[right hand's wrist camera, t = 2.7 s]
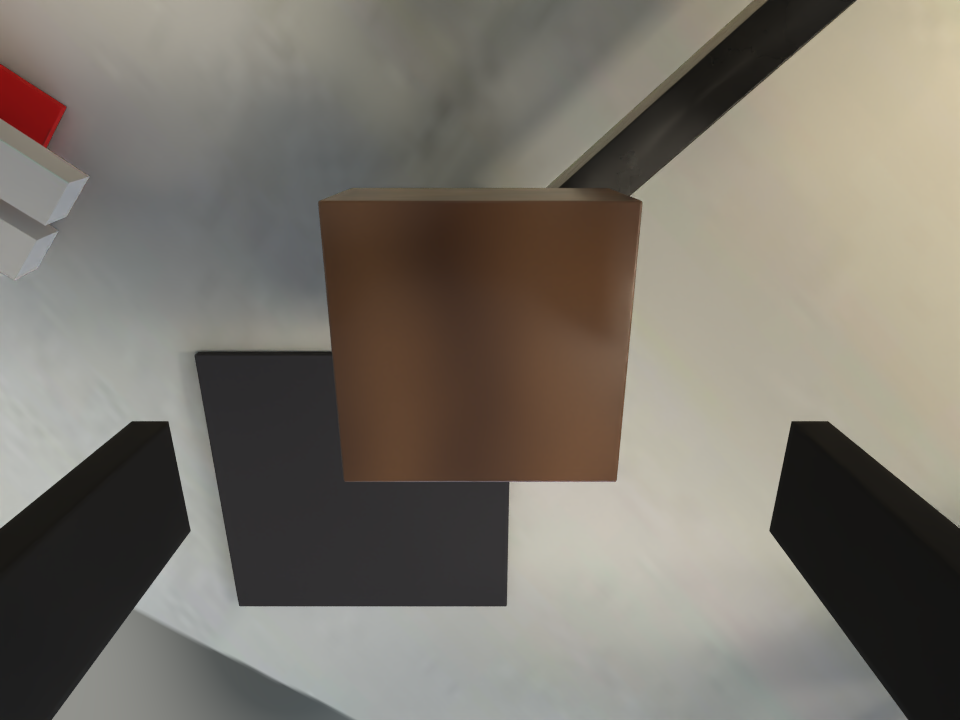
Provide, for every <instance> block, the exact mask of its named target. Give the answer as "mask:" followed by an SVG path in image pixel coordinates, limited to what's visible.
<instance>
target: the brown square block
mask: <svg viewBox="0 0 960 720" xmlns="http://www.w3.org/2000/svg"><path fill="white" fill-rule="evenodd" d="M318 206H319V217H320V228H321V239H322V249H323V260H324V271H325V282H326V293H327V304H328V315H329V326H330V336H331V347H332V358H333V369H334V380H335V391H336V402H337V413H338V423H339V434H340V445H341V456H342V467H343V478H344V481H345V482H616V480H617V471H618V460H619V450H620V439H621V428H622V417H623V407H624V396H625V385H626V374H627V364H628V353H629V342H630V331H631V321H632V310H633V299H634V288H635V277H636V267H637V256H638V245H639V234H640V224H641V213H642V201H640V200H637V199H635V198H632V197H630V196H627V195H625V194H622V193H620V192H617V191H614V190H612V189H609V188H351V189H348V190H346V191H343V192H341V193H338V194H336V195H333V196H331V197H328V198H325V199H323V200H320V201H319V202H318Z"/></svg>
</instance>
